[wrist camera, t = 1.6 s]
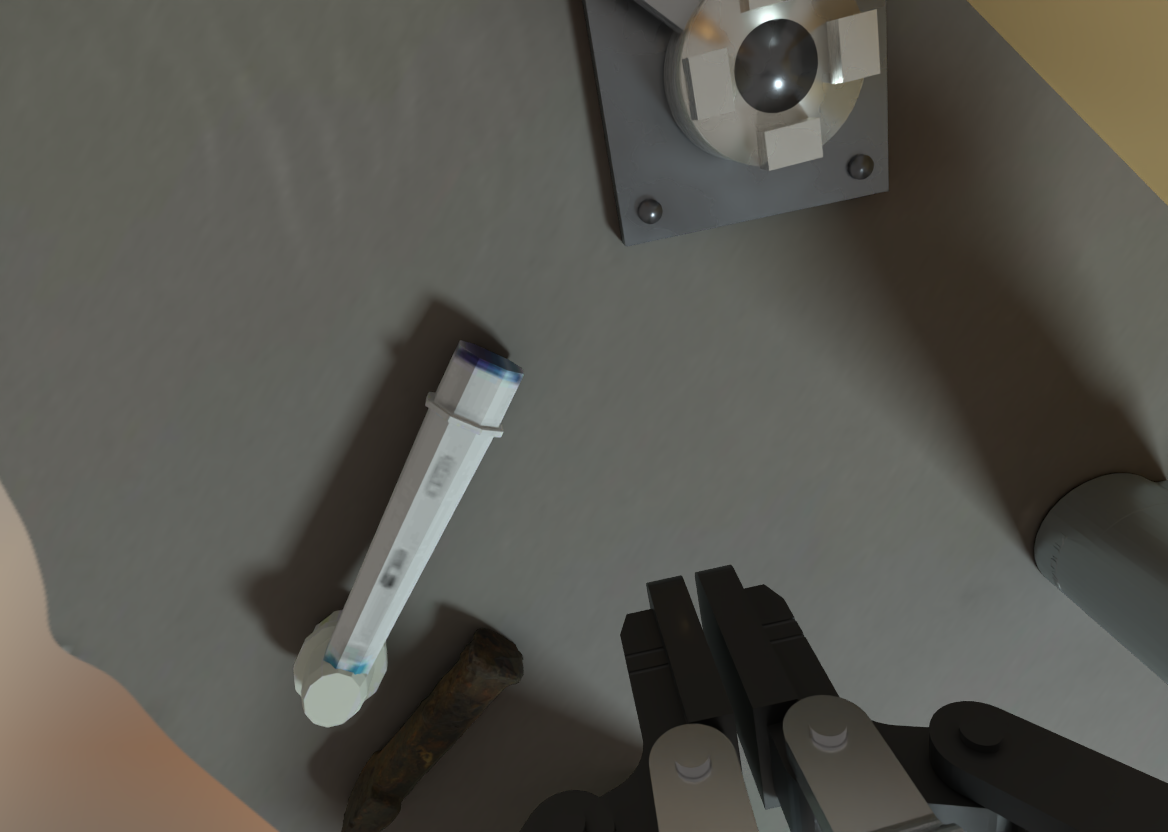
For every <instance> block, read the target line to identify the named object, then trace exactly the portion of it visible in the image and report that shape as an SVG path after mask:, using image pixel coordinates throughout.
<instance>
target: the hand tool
mask: <svg viewBox="0 0 1168 832" xmlns="http://www.w3.org/2000/svg"><path fill="white" fill-rule="evenodd" d="M522 660H523V656H522V654H521V653H520V652H519V651H518V649H517V647H516V645H515V644H514V643H512V642H510V641H508V640H507V639H505V638H504V637H503V636H501V635H499V634H497V633H495V632H493V631H490V630H486V629H478V630H477V631H476V632H475V634H474V639H473V641H472V642H471V644H468V645H466V647H465V650H464V651H463V652H462V653H461V654H460V660H459V661H458V662H457V663H456V665H455V666H454V667H453V668H452V669H451V670H450V671H449V672H448V673H447V674H446V675H445V676H444V677H443V678H442V680H441V681H440V682H439V683H438V684H437V685H436V687H435V689H434V690H433V692H432V693H431V694H430V695H429V696H428V697H427V699H425V700H423V701H422V702H421V705H420V706H419V707H418V709H417V710H416V711H415V712H414V714H413V715H412V716H411V717H410V718H409V719H408V721H407V722H406V723H405V724H404V726H403V727H402V728H401V729H400V730H399V731H398V732H397V734H396V735H395V736H394V737H393V738H392V739H391V741H390V742H389V743H388V744H387V745H386V746H385V747H384V749H383V750H380V751H376V752H375V753H374V754H373V755H372V757H371V758H370V759H369V761H368V762H367V764H366V765H365V767H364V768H363V770H362V772H361V773H360V775H359V778H358V780H357V782H356V784H355V787H354V789H353V791H352V794H351V796H350V798H349V800H348V805H347V809H346V812H345V814H344V820H343V827H342V831H341V832H380V831H381V830H383V829H384V828H386V827H387V826H388V825H389V824H390V823H391V822H392V821H393V820H394V819H395V818H396V816H397V815H398V814H399V812H400V809H401V802H402V801H403V799H404V798H405V797H406V796H407V795H408V794H409V793H410V791H411V790H412V789H413V787H414V786H415V785H416V784H417V782H418V781H419V780H420V779H421V778H422V776H423V775H424V774H425V773H427V772H428V771H429V770H430V769H431V768H432V767H433V766H434V765H435V764H436V762H437V761H438V760H439V759H440V758H441V757H442V756H443V755H444V754H445V753H446V752H447V751H448V750H449V749H450V748H451V747H452V746H453V744H454V743H455V742H456V741H457V740H458V739H459V738H460V737H461V736H462V735H463V733H464V732H465V731H466V730H467V729H468V728H469V727H470V726H471V725H472V723H473V722H474V721H475V720H476V719H477V718H478V717H479V716H480V715H481V714H482V712H483V711H484V710H485V709H486V708H487V707H488V705H489V704H490V703H491V702H492V701H493V700H494V699H495V698H496V697H497V695H499V694H500V692H501V691H502V690H503V689H504V688H505V687H507V686H509V685H512V684H517V683H519V681H520V680H521V678H522V676H523V662H522Z"/></svg>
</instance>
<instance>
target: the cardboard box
mask: <svg viewBox="0 0 1168 832" xmlns="http://www.w3.org/2000/svg"><path fill="white" fill-rule="evenodd" d="M967 1H968V2H969V3H970V4H971V5H972V6H973V7H974V8H975V9H976V10H977V11H978V13H979V14H980V15H981V16H982V17H983V18H984V19H985V20H986V21H987V22H988V23H989V24H990V25H991V26H992V27H993V28H994V29H995V30H996V31H997V32H998V33H999V34H1000V35H1001V36H1002V37H1003V38H1004V39H1005V40H1006V41H1007V42H1008V43H1009V44H1010V45H1011V46H1012V47H1013V48H1014V49H1015V50H1016V51H1017V52H1018V53H1019V54H1020V55H1021V56H1022V57H1023V58H1024V59H1025V60H1026V62H1027V63H1028V64H1029V65H1030V66H1031V67H1032V68H1033V69H1034V70H1035V71H1036V72H1037V73H1038V74H1039V75H1040V76H1041V77H1042V78H1043V79H1044V80H1045V81H1046V82H1047V83H1048V84H1049V85H1050V86H1051V87H1052V88H1053V89H1054V90H1055V91H1056V92H1057V93H1058V94H1059V95H1060V96H1061V97H1062V98H1063V99H1064V100H1065V101H1066V102H1067V103H1068V104H1069V105H1070V106H1071V107H1072V108H1073V109H1074V111H1075V112H1076V113H1077V114H1078V115H1079V116H1080V117H1081V118H1082V119H1083V120H1084V121H1085V122H1086V123H1087V124H1088V125H1089V126H1090V127H1091V128H1092V129H1093V130H1094V131H1095V132H1096V133H1097V134H1098V135H1099V136H1100V137H1101V138H1102V139H1103V140H1104V141H1105V142H1106V143H1107V144H1108V145H1109V146H1110V147H1111V148H1112V149H1113V150H1114V151H1115V152H1116V153H1117V154H1118V155H1119V156H1120V157H1121V158H1122V160H1123V161H1124V162H1125V163H1126V164H1127V165H1128V166H1129V167H1130V168H1131V169H1132V170H1133V171H1134V172H1135V173H1136V174H1137V175H1138V176H1139V177H1140V178H1141V179H1142V180H1143V181H1144V182H1145V183H1146V184H1147V185H1148V186H1149V187H1150V188H1151V189H1152V190H1153V191H1154V192H1155V193H1156V194H1157V195H1158V196H1159V197H1160V198H1161V199H1162V200H1163V201H1164V202H1165V203H1166V204H1167V205H1168V0H967Z"/></svg>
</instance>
